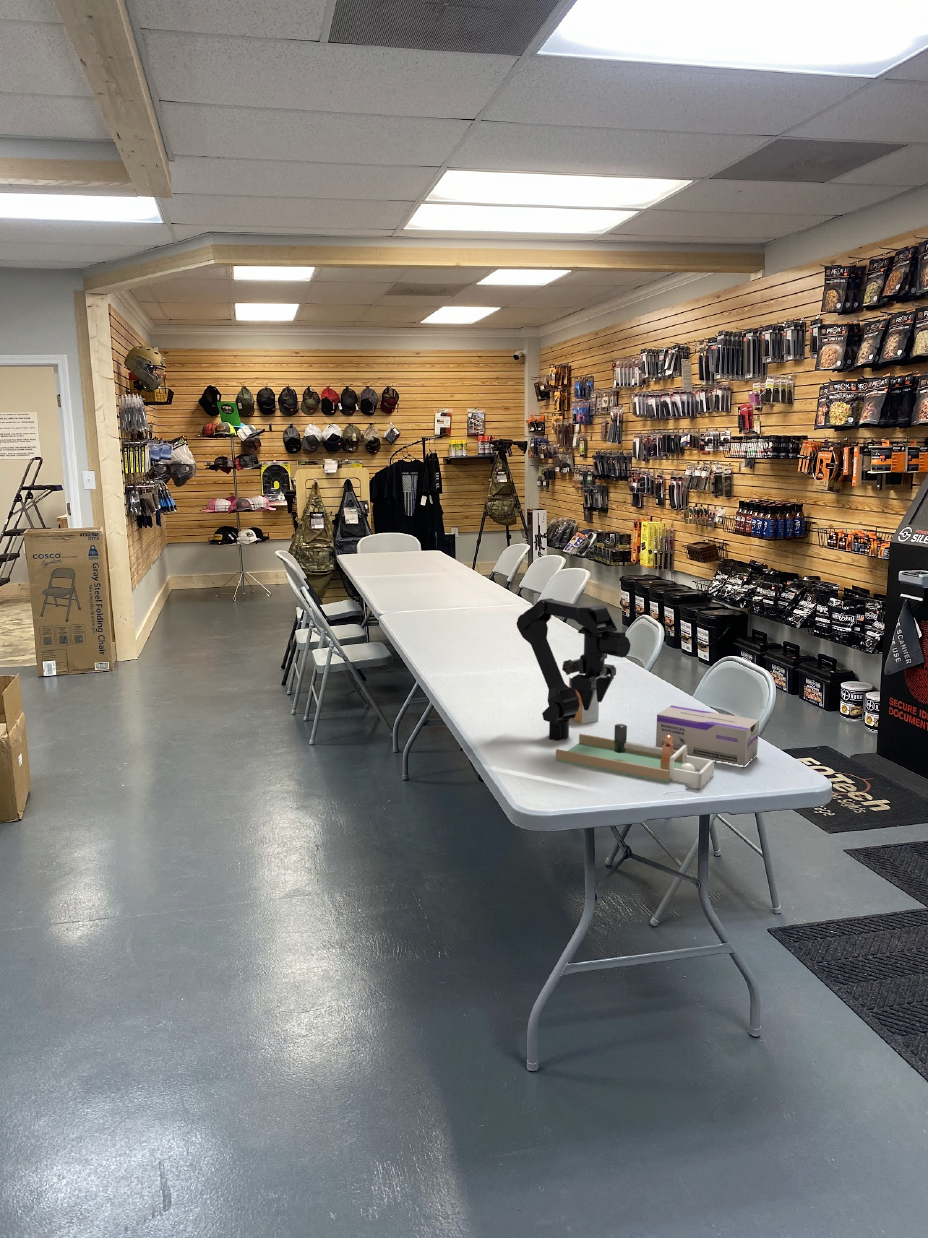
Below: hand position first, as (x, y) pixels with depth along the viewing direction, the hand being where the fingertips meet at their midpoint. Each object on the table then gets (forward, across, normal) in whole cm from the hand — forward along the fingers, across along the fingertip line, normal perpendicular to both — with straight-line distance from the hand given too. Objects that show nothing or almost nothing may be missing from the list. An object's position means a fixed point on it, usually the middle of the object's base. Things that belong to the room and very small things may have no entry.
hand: (592, 706), depth 246 cm
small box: (+13, -26, -14) cm, 32 cm away
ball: (+11, +7, +29) cm, 32 cm away
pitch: (+13, +7, +12) cm, 19 cm away
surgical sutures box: (+14, -14, +28) cm, 34 cm away
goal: (+13, +7, +30) cm, 34 cm away
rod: (+11, +7, +17) cm, 22 cm away
